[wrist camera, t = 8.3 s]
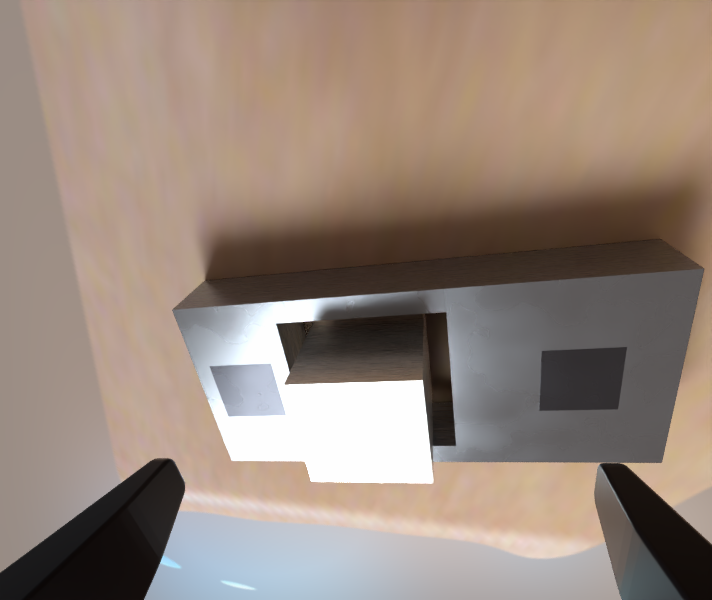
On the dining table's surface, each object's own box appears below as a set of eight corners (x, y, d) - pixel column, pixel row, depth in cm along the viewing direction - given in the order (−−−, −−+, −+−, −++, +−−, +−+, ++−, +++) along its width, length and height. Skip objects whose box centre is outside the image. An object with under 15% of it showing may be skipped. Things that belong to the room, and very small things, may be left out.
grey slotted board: (660, 239, 17) (704, 268, 14) (631, 413, 21) (661, 462, 18) (204, 280, 21) (172, 310, 18) (252, 420, 25) (231, 460, 22)
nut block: (423, 299, 20) (422, 380, 14) (432, 385, 22) (433, 483, 16) (320, 307, 21) (283, 385, 15) (338, 388, 23) (311, 481, 17)
